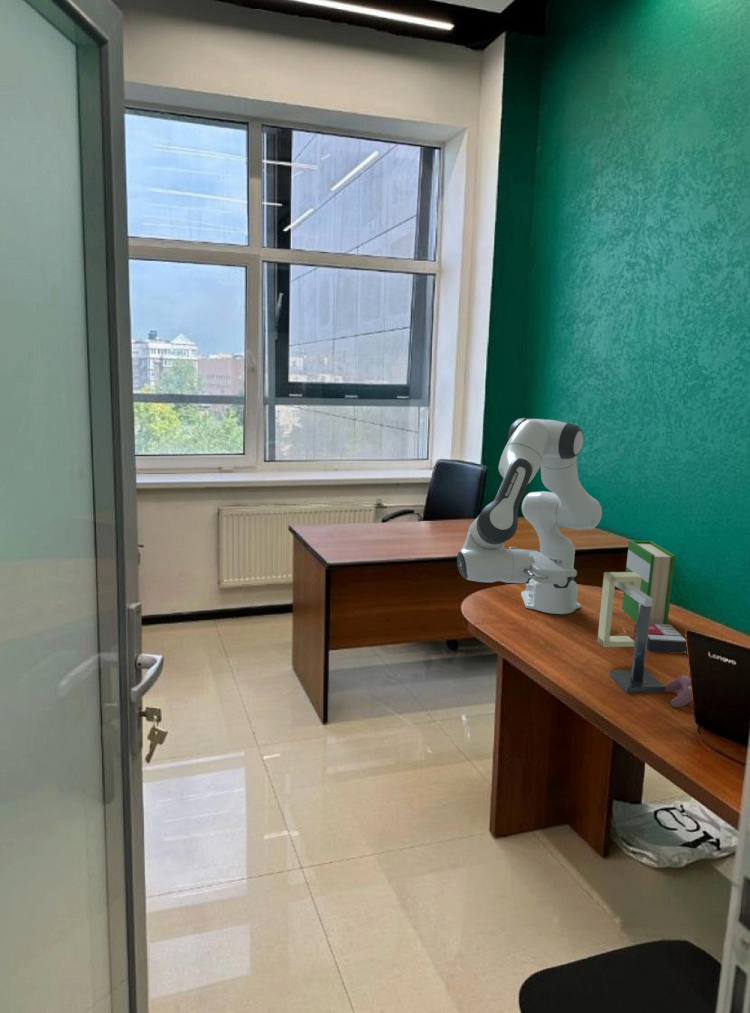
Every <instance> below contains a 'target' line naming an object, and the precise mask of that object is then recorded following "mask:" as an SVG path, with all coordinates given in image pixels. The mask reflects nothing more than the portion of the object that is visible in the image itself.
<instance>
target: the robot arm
mask: <svg viewBox="0 0 750 1013" xmlns="http://www.w3.org/2000/svg"><path fill="white" fill-rule="evenodd" d="M507 435H508V437H507V440H508V441H507V443H506V444H505V446H504V449H503V450H502V454H501V456H500V460H499V463H498V467H497V468H498V472H499V475H500V476H501V477H502V481H501V483H500V485H499V488H498V491H497V494H496V495H495V498H494V499H493V501H491V502H490V503H488V504H487V505H486V506H485V507H484V508H483V509H482V510H481V512H480V513H479V515H478V516H477V517H476V518H475V519H474V520H473V522H471V524H470V525H469V527H468V530H467V534H466V538H465V541H464V543H463V545H462V547H461V549H460V550H459V551H458V553H457V558H456V563H457V565H456V566H457V569H458V571H459V572H458V573H460V575H461V577H462V578H463V579H465V580H468V581H471V582H472V581H473V582H477V583H478V582H479V583H495V582H503V583H507V584H509V583H510V584H511V583H512V584H525V590H523V591H521V592H520V593H521V594H520V596H521V598H522V601H523V604H524V606H525V608H527V609H530V610H536V611H540V612H542V613H545V614H546V613H547V614H554V615H555V614H556V615H566V614H567V615H568V614H572V613H573V612H575V611H576V610H577V609H579V608H581V603H579V602H578V584H577V582H576V581H575V580H574V579H575V577H577V574H578V571H577V569H575V567H574V564H575V554H576V546H575V544H574V543H573V542H572V540H571V539H570V538H569V537H566V536H565V535H564V534H563V533H562V532H561V531H560V528H566V529H572V530H574V529H575V530H590V529H594V528H596V527H597V526H598V525H599V523H600V521H601V519H602V515H603V510H602V506H601V504H600V502H599V501H598V500H597V499H596V498H594V497H593V496H591V495H590V493H588V492H587V490H585V488H584V487H583V486H582V483H581V481H580V479H579V474H578V472H579V471H578V460H577V456H578V455H579V454H581V451H582V447H583V444H584V433H583V430H582V429H581V427H580V426H578V425H577V424H574V423H572V422H563V421H559V420H556V419H555V420H554V419H550V418H549V419H543V418H529V417H522V418H521V417H520V418H517V419H516V420H515V421H513V422H512V423H511V425H510V427H509V430H508V434H507ZM539 469H540V476H541V482H542V483H543V485H544V487H545V488H546V489H547V490H549V491H544V490H542V491H532V492H531V491H530V492H528V493H527V494H526V495H525V491H526V489H527V487H528V484H530V483H531V481H532V480H533V479H534V478H535V476H536V474H537V473H538V472H539ZM524 495H525V496H524ZM523 496H524V498H523ZM522 499H523V500H522ZM521 502H522V504H521ZM520 504H521V512H522V515H523V517H524V518H525V520H526V521H527V522H528V523H530V525H531V526H532V527H533V529H534V530H535V532H536V534H537V537H538V541H539V551H537V550H534V549H525V548H524V549H523V548H518V547H517V546H509V547H508V548H506V547H505V543H506V542H507V541H509V540H511V539H512V538H513V537H514V535H515V534H516V533H517V530H518V525H519V517H518V516H519V515H518V514H519V507H520ZM527 582H528V583H527Z"/></svg>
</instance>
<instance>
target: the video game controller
mask: <svg viewBox="0 0 750 1013" xmlns="http://www.w3.org/2000/svg"><path fill="white" fill-rule="evenodd" d="M690 678H691V677H690V676H688V675H684V674H682V675H680V676H677V678H675V679H673V680H671V681H669V682H667V683H666V684H665V685H664V686H665V692H667V693H673V692H674V693H675V692H677V694H676V696H675V697H673V698H672V699H671V700H670V706H671V707H672V708H681V707H684V706H687V705H688V704H689V703H691V702H693V701H692V690H691V679H692V678H691V679H690Z"/></svg>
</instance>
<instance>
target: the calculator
mask: <svg viewBox="0 0 750 1013" xmlns="http://www.w3.org/2000/svg"><path fill="white" fill-rule="evenodd" d="M636 625H637V623H635V624H634V629H633V630H634V631H633V633H634V634H636ZM677 630H678V629H676V628H674V627H673V626H672V624H668V623H667V624H655V625H653V624H650V623H649V632H648V641H647V650H646V651H648V652H650V653H651V652H656V653H669V652H685V651H686V653H685V654H688V653H687V647H686V640H687V639H686V638H684V636H682V634H681V633H680V632H678V631H677Z"/></svg>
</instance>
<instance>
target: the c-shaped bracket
mask: <svg viewBox="0 0 750 1013" xmlns="http://www.w3.org/2000/svg"><path fill="white" fill-rule="evenodd" d="M641 578H642V576H640V575H638V574H637V573H635V572H626V571H617V572H616V571H605V572H603V580H602V590H601V591H602V592H601V598H600V599H601V600H600V602H601V603H600V609H599V622H598V631H597V643H599V644H600V646H602V647H603V648H619V647H620V648H625V647H626V648H628V647H633V648H634V643H635V639H633V638H631V637H630V636H629V635H611V629H612V617H613V609H614V599H615V588H616V586H615V582H628V583H630V584H631V585H633V586H634V587H636V588H637V589H639V590H640V587H641Z"/></svg>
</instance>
